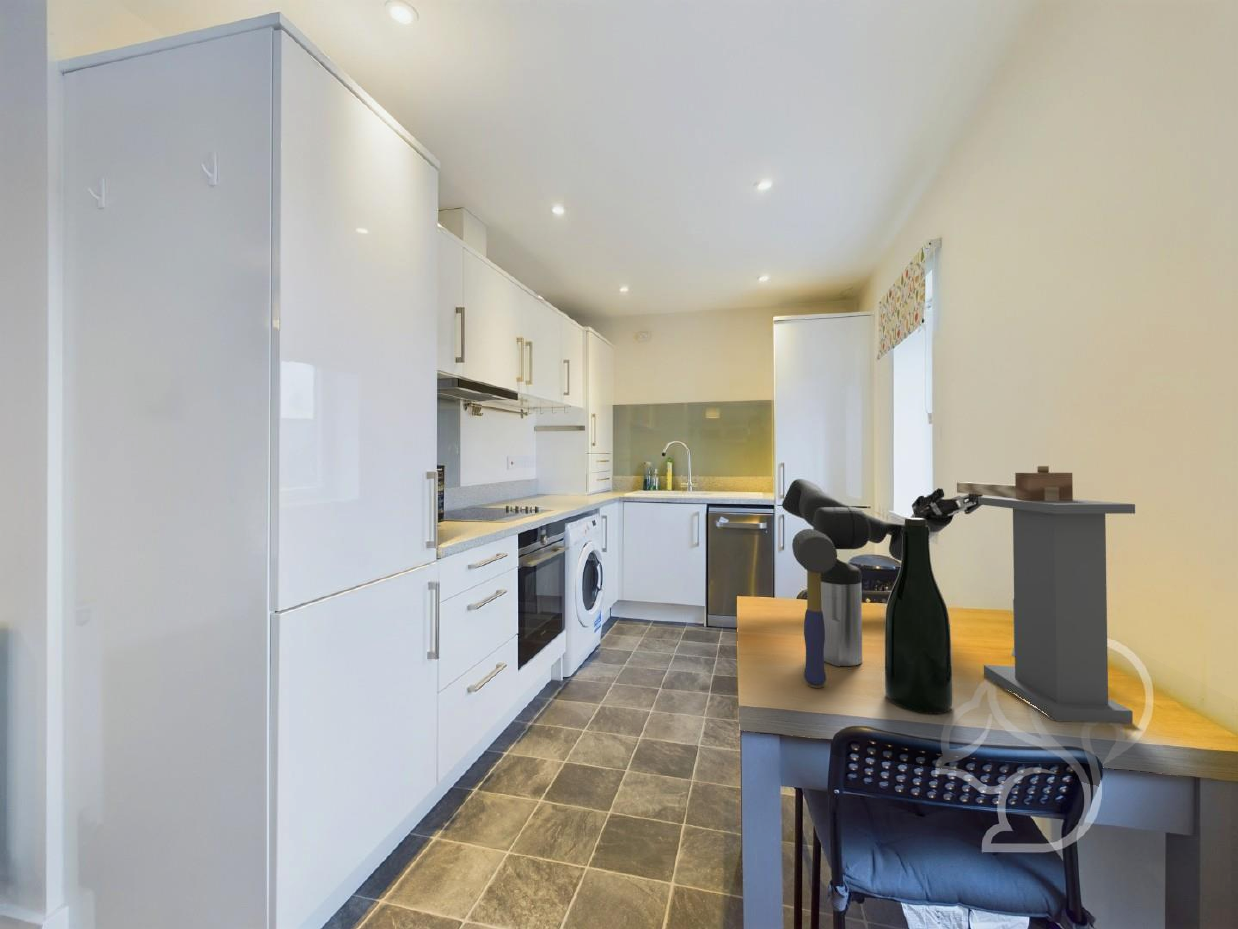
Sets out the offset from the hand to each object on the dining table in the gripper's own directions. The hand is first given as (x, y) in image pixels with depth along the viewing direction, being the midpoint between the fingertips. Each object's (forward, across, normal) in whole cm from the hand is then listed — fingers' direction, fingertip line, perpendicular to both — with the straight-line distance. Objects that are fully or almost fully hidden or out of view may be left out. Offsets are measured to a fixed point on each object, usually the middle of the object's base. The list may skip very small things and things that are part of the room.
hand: (960, 491), depth 119 cm
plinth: (+6, +1, -45) cm, 46 cm away
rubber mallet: (+4, +42, -44) cm, 61 cm away
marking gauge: (+13, +1, -8) cm, 15 cm away
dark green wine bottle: (+8, +26, -47) cm, 54 cm away
